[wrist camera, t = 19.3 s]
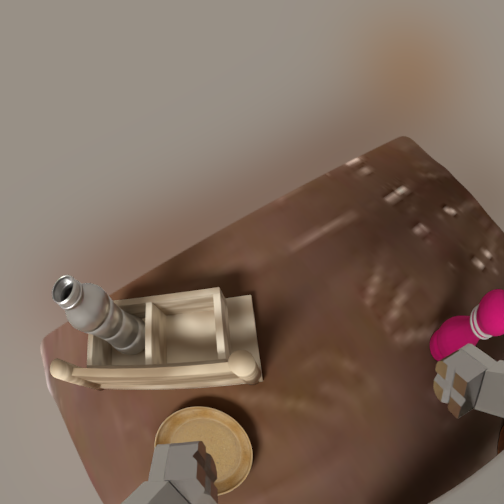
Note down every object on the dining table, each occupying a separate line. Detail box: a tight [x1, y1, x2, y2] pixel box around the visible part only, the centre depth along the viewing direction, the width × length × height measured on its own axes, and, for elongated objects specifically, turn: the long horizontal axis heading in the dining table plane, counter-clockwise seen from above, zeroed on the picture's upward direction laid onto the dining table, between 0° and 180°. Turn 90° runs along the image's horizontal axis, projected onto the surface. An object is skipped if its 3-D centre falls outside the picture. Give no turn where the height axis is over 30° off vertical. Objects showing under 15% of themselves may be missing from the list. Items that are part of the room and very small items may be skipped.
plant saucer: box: [154, 406, 253, 495], centre depth 35 cm, size 15×15×3 cm
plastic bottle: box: [52, 275, 145, 355], centre depth 36 cm, size 6×7×20 cm
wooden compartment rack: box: [50, 287, 263, 390], centre depth 40 cm, size 14×30×12 cm, turn 97°
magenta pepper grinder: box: [430, 289, 504, 361], centre depth 31 cm, size 7×7×20 cm
